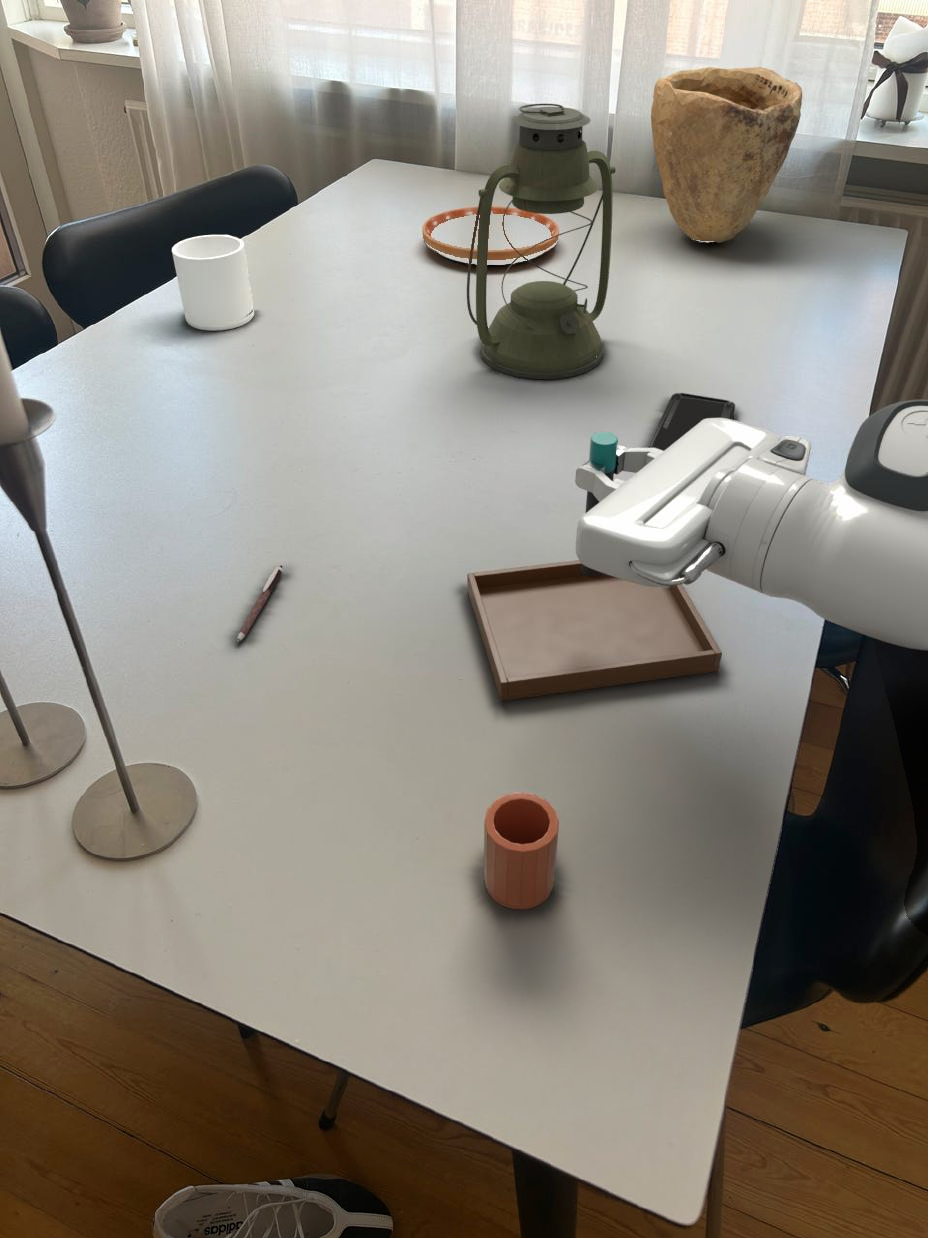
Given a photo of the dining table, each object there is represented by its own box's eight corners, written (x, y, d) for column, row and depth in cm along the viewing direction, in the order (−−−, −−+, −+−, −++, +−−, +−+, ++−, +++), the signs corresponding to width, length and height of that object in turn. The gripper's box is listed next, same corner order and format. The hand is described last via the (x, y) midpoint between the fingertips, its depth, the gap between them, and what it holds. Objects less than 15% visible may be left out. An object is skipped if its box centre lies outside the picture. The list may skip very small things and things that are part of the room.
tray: (659, 567, 95) (662, 549, 93) (718, 671, 83) (722, 653, 82) (467, 590, 92) (467, 573, 91) (500, 701, 81) (500, 683, 79)
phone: (736, 401, 118) (714, 460, 107) (735, 410, 119) (713, 469, 108) (672, 391, 120) (644, 448, 110) (671, 399, 121) (643, 456, 110)
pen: (278, 569, 95) (276, 561, 94) (285, 570, 95) (284, 562, 94) (234, 643, 86) (232, 635, 86) (242, 645, 86) (240, 636, 86)
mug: (239, 333, 138) (227, 261, 131) (174, 328, 140) (159, 256, 133) (270, 299, 147) (261, 231, 141) (209, 295, 149) (197, 227, 143)
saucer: (511, 218, 176) (512, 197, 173) (584, 256, 160) (586, 233, 158) (399, 240, 167) (398, 218, 165) (465, 283, 152) (465, 259, 149)
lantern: (508, 393, 123) (513, 137, 104) (444, 342, 135) (438, 104, 116) (639, 358, 130) (666, 113, 111) (568, 313, 142) (581, 85, 123)
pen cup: (544, 846, 69) (548, 787, 65) (561, 903, 66) (566, 845, 61) (478, 857, 69) (478, 798, 64) (492, 915, 65) (493, 856, 61)
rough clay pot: (716, 276, 153) (744, 101, 137) (612, 240, 166) (626, 77, 150) (800, 243, 164) (835, 77, 148) (697, 212, 177) (718, 57, 161)
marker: (607, 566, 84) (620, 433, 76) (601, 580, 82) (614, 446, 74) (583, 562, 84) (594, 429, 76) (577, 575, 83) (588, 442, 75)
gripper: (675, 629, 66) (514, 555, 73) (801, 500, 78) (652, 447, 85) (688, 555, 62) (516, 484, 69) (818, 431, 74) (661, 381, 81)
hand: (592, 463), depth 77 cm, fingers closed on marker, 2 cm apart
